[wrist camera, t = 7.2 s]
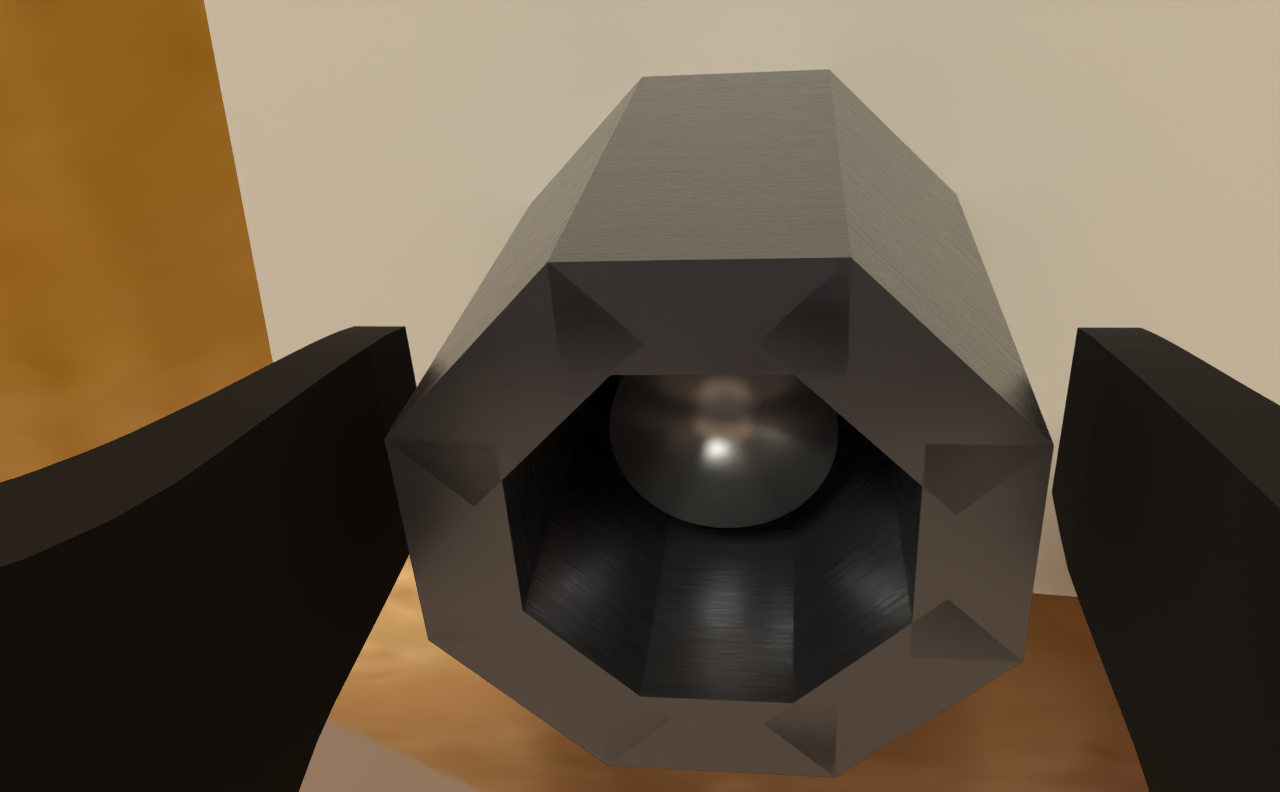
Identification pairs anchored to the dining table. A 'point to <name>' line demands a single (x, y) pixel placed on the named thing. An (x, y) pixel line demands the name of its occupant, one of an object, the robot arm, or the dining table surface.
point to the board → (764, 42)
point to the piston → (722, 444)
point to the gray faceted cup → (731, 345)
